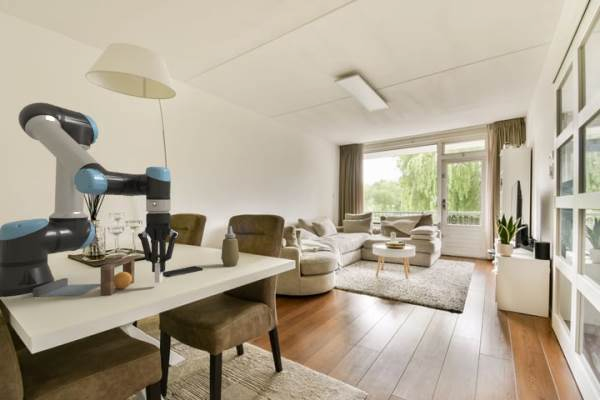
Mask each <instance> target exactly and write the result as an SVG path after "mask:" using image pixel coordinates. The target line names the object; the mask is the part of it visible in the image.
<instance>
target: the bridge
mask: <svg viewBox="0 0 600 400" xmlns="http://www.w3.org/2000/svg"><path fill="white" fill-rule="evenodd" d="M120 266H122V272H127V273H129V274H130V275H131V277H132V281H131V283H130V285H132V284H134V283H135V256H125V257H122V258H120V259H117V260H114V261H111V262H108V263H105V264H103V265H100V284H101V286H100V296H104V297H105V296H111V295H113V294H115V286H114V276H115V269H116V268H119V267H120Z"/></svg>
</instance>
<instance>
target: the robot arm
mask: <svg viewBox="0 0 600 400" xmlns="http://www.w3.org/2000/svg"><path fill="white" fill-rule="evenodd" d="M18 123H19V126H20V128H21V130H22V131H23V132H24V133H25V134H26V135H27V136H28V137H29V138H31V139H32V140H34V141H38V142H40V143H41V144H42V146H44V148H46V149H47V150H48V151H49V152H50V153H51V154H52V155H53V156H54V157H55V158H56V159H55V185H54V192H55V193H54V212H52V214H50V215H49V216H48V218H31V219H23V220H16V221H11V222H7V223H6V222H5V223H4V224H2V225H1V226H0V297H6V296H16V295H22V294H30V293H33V289H34V288H37V287H40V286H42V285H45V284H48V283H51V282H54V281H55V277H54V276H53V273H52V270H51V268H50V265H49V262H48V261H49V259H48V258H49V257H48V255H52V254H59V253H64V252H65V253H66V252H75V251H78V250H82V249H85V248H87V247H88V246H89V245H91V243H92V242H93V241H94V238H95V235H96V229H95V226H94V223H93V222H92V221H91V220H89V216H88V215H87V214H86V213H85V212H84V206H85V205H84V202H85V195H92V196H99V195H100V196H101V195H102V196H124V197H125V196H126V197H136V196H140V197H141V196H145V202H146V203H145V206H146V207H145V211H146V212H147V213H146V214H145V228H144V230H143V231H142V232H140V233H138V234H137V237H138V238H139V240H140V242H141V243H140V244H141V246H142V250H143V255H144V257H145V258H144V259H145V261H146V262H150V263H151V272H152V273H154V283H156V284H157V283H159V284H160V283H161V282H163V281H164V280H163V279H164V277H163V276H164V275H163V272H165V271H166V262H168V261H170V260H171V259H172V257H173V254H174V249H175V248H174V247H175V244H176V241H177V238H178V237H179V235H180V233H179V232H178V231H175V230H173V228H172V226H171V223H172V222H171V219H172V218H171V210H172V209H171V206H172V205H171V202H172V201H171V189H172V188H171V187H172V186H171V185H172V184H171V183H172V179H171V170H170V169H169V168H168V167H163V166H148V167H146V168H145V173H138V174H137V173H125V172H118V171H109V170H107V168H105V167H104V166H103V165H101V163H99V162H98V161H97V160H96V159H95V158H94V157H93V156H92V155H91V154H90V153H89V152H87V151H88V150H90V149H91V145H94V144H95V143H96V141H97V139H98V137H99V128H98V125H97V123H96V121H95V120H94V119H93V118H92V117H91V116H89V115H87V114H84V113H82V112H80V111H75V110H72V109H68V108H64V107H61V106H57V105H54V104H51V103H48V102H33V103H30V104H27V105H25V106H24V107H23V108H21V110H20V112H19V114H18ZM169 236H170V238H169V241H168V245H166V244H167V238H168V237H169ZM148 237H149V238H150V242H149V238H148ZM150 243H151V244H150ZM150 245H151V246H150Z"/></svg>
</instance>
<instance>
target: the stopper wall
mask: <svg viewBox="0 0 600 400" xmlns="http://www.w3.org/2000/svg"><path fill="white" fill-rule="evenodd" d="M68 282H69V279H68V278H66V277H65V278H60V279H57V280H54V282H51V283H48V284H45V285H42V286H40V287H37V288H34V289H33V292H32V298H36V297H37V298H39V297H40V296H41V295H44V294H46V293H49V292H52V291H54V290H57V289H59V288H62V287H64V286H67V285H69V283H68Z"/></svg>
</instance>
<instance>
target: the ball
mask: <svg viewBox="0 0 600 400" xmlns="http://www.w3.org/2000/svg"><path fill="white" fill-rule="evenodd" d="M131 281H132V277H131V275H130V274H129V273H127V272H123V271H120V272H118V273H116V274H114V288H116V289H119V290H122V289H125V288H128V287H129V286H130V285H131V284H130V283H131Z"/></svg>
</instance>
